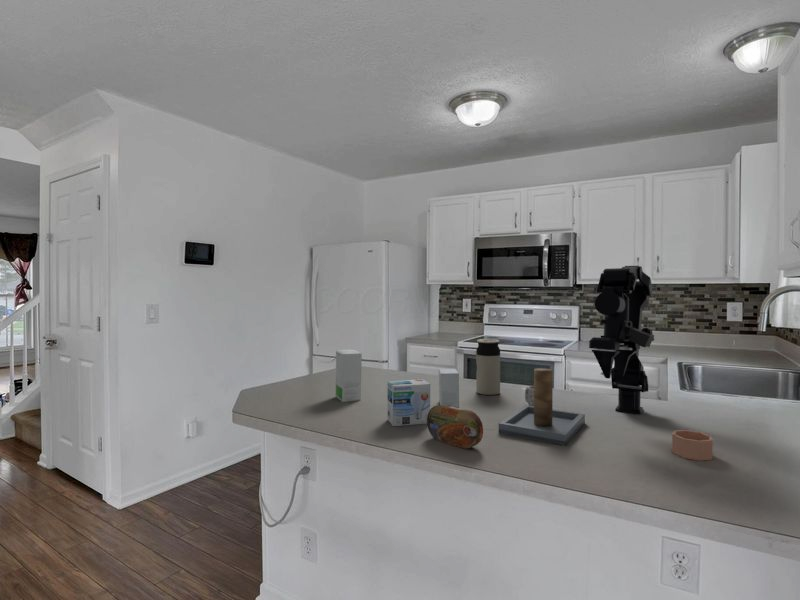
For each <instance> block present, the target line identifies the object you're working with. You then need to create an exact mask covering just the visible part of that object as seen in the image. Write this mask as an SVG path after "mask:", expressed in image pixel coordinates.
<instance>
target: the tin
mask: <svg viewBox="0 0 800 600" xmlns="http://www.w3.org/2000/svg"><path fill="white" fill-rule="evenodd" d="M426 426H427V429H428V432H429V434H430V436H432V438H433V439H434V440H436V441H438V442H440V443H444V444H448V445H451V446H454V447H458V448H460V449H471V448H473V447H475V446H477V445H478V444H479V443H481V441H482V439H483V435H484V428H483V427H484V426H483V422H482V420H481V418H480V417H479V415H478V414H477V413H475V412H474V411H472V410H469V409H465V408H460V407H459V408H456V407H451V406H447V405H440V404H439V405H435V406H433V407H430V411H429V413H428V416H427V424H426Z"/></svg>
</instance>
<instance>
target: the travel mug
mask: <svg viewBox="0 0 800 600" xmlns="http://www.w3.org/2000/svg"><path fill="white" fill-rule="evenodd" d="M476 341H477V345H478V346H477V348H476V350H475V351H476V353H475V354H476V362H475V363H476V365H475V366H476V377H475V379H476V384H475V385H476V389H475V390H476V391H475V392H477V393H478V394H479V395H484V396H496V395H498V394H500V393H501V349H500V347H499V344H500V340H499V339H493V338H482V339H481V338H480V339H477V340H476Z"/></svg>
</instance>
